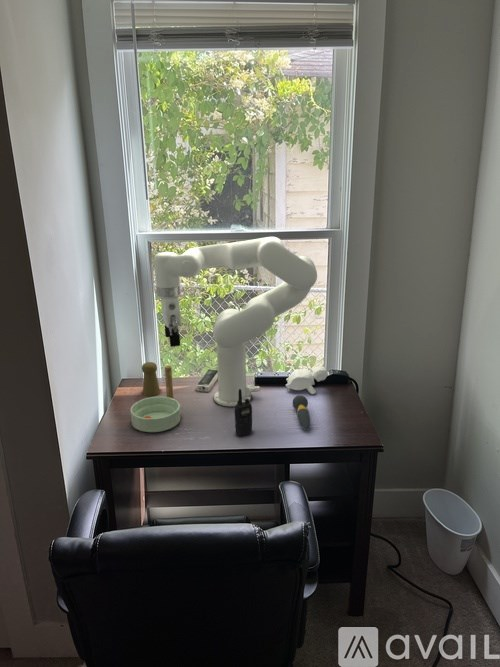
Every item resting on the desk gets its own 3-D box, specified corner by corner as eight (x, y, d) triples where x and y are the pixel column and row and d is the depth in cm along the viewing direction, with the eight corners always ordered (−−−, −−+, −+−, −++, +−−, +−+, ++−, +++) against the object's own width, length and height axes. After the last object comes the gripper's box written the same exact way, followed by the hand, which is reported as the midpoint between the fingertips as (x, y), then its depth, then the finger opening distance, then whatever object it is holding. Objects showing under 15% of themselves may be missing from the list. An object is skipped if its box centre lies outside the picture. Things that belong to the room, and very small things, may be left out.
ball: (145, 429, 157) (154, 425, 158) (142, 421, 156) (151, 417, 156) (144, 424, 160) (153, 420, 160) (140, 416, 158) (149, 412, 159)
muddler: (174, 399, 176) (171, 364, 172) (176, 403, 173) (173, 368, 169) (164, 400, 175) (162, 365, 171) (166, 404, 172) (164, 369, 168)
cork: (154, 386, 186) (151, 358, 182) (163, 392, 182) (161, 363, 178) (139, 392, 182) (136, 363, 179) (148, 397, 178) (146, 368, 174)
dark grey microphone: (318, 432, 154) (319, 417, 153) (302, 433, 154) (303, 418, 152) (304, 402, 173) (304, 389, 171) (289, 403, 172) (289, 390, 171)
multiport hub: (219, 375, 195) (219, 370, 194) (208, 392, 181) (208, 386, 181) (208, 374, 196) (208, 369, 195) (196, 390, 182) (196, 385, 182)
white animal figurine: (291, 401, 180) (332, 388, 177) (282, 380, 178) (323, 367, 175) (292, 390, 188) (331, 378, 185) (283, 370, 186) (323, 357, 183)
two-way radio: (238, 438, 152) (237, 392, 147) (231, 431, 155) (230, 386, 150) (254, 433, 154) (254, 388, 149) (247, 427, 158) (246, 382, 153)
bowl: (176, 407, 171) (175, 393, 169) (184, 429, 157) (183, 414, 155) (130, 414, 167) (128, 400, 165) (134, 437, 153) (132, 422, 151)
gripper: (185, 296, 158) (189, 348, 164) (175, 284, 174) (179, 331, 179) (161, 299, 156) (165, 351, 162) (153, 286, 172) (157, 334, 177)
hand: (172, 341), depth 170 cm, fingers open, 9 cm apart
